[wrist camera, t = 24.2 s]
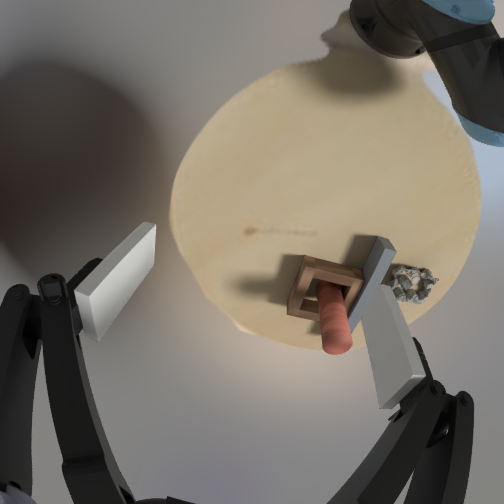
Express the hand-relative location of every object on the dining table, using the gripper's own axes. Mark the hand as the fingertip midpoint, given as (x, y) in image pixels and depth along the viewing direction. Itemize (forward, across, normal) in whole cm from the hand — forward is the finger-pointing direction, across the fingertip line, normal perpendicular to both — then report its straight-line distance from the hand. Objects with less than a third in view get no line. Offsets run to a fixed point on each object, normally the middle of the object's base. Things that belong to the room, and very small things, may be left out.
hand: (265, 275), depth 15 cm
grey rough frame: (+35, +33, -15) cm, 51 cm away
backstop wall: (+34, +23, -21) cm, 46 cm away
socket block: (+34, +15, -22) cm, 44 cm away
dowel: (+34, +16, -22) cm, 44 cm away
